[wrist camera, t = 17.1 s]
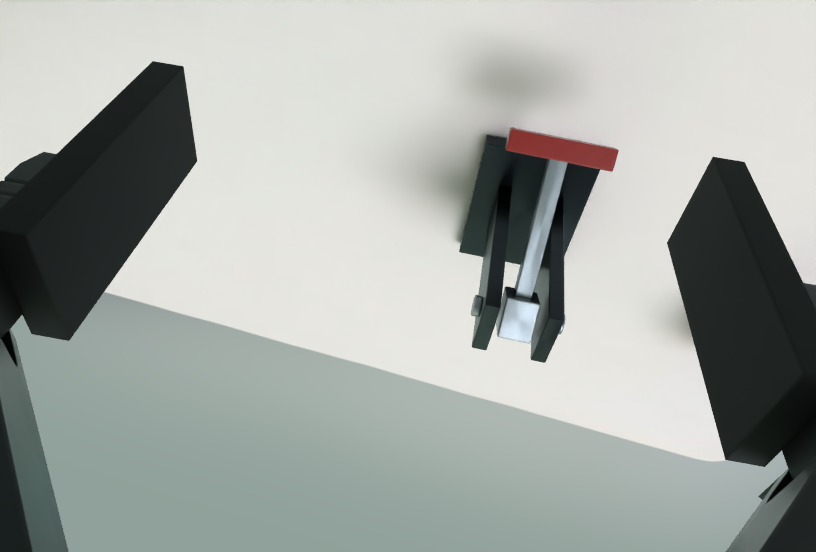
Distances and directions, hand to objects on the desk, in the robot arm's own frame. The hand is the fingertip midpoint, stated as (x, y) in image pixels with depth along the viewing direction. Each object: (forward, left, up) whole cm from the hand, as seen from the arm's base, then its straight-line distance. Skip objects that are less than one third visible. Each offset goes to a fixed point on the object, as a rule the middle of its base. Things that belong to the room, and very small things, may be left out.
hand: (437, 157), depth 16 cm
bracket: (+21, +7, -27) cm, 35 cm away
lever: (+17, +7, -18) cm, 26 cm away
